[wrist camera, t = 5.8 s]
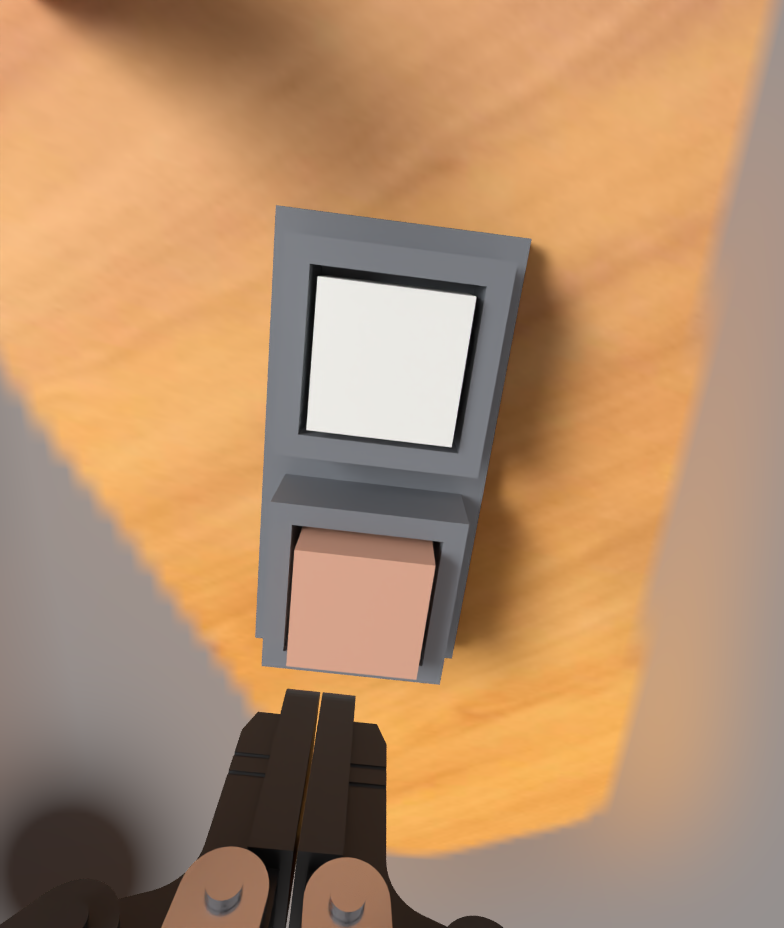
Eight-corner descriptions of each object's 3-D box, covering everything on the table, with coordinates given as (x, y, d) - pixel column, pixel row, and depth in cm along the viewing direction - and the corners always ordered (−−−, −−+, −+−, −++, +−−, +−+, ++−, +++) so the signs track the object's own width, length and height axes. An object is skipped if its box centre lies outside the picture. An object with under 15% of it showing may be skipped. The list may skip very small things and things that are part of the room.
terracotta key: (305, 519, 27) (294, 549, 24) (431, 533, 27) (435, 565, 24) (297, 626, 29) (286, 666, 26) (414, 639, 29) (416, 679, 26)
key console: (282, 208, 25) (256, 195, 21) (524, 240, 26) (552, 234, 21) (261, 621, 33) (238, 681, 28) (449, 641, 33) (458, 704, 28)
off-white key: (327, 274, 24) (317, 276, 21) (467, 292, 24) (476, 296, 21) (316, 411, 26) (306, 429, 23) (445, 427, 26) (451, 447, 23)
